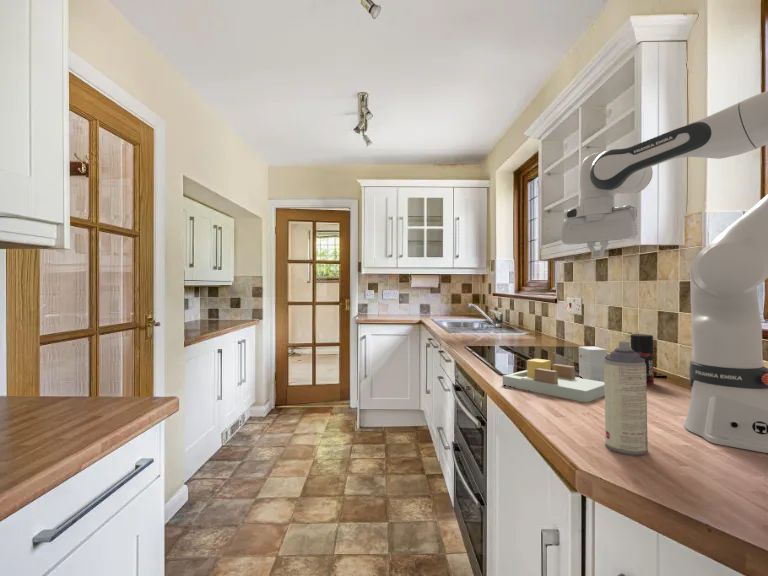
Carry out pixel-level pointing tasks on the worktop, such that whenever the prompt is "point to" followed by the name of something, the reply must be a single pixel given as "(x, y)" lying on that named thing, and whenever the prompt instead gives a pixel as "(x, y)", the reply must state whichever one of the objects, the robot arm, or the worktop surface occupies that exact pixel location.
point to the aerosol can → (625, 401)
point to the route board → (557, 383)
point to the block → (537, 366)
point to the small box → (592, 363)
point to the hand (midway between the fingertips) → (597, 257)
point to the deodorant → (644, 353)
